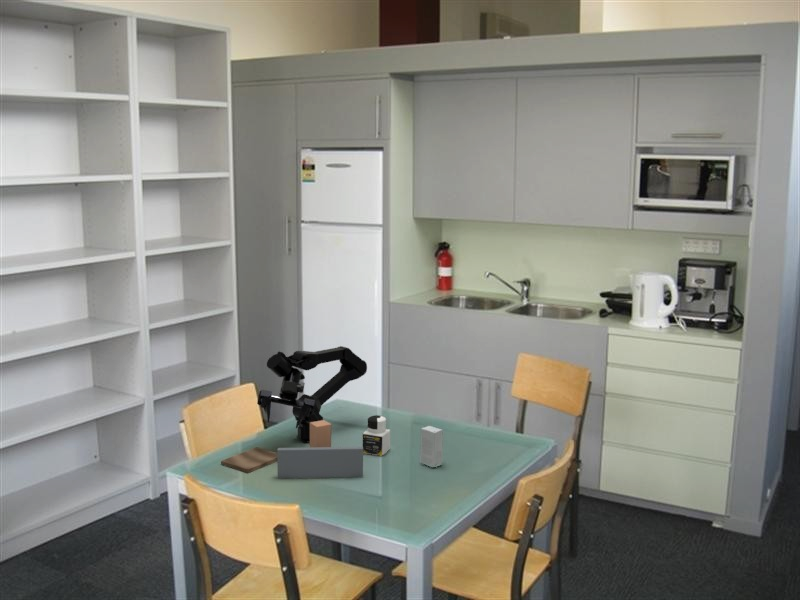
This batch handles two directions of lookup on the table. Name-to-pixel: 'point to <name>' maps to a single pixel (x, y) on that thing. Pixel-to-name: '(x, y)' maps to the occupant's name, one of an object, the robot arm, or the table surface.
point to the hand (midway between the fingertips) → (282, 424)
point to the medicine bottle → (376, 436)
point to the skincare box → (431, 445)
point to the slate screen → (320, 462)
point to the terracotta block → (320, 434)
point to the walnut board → (251, 460)
